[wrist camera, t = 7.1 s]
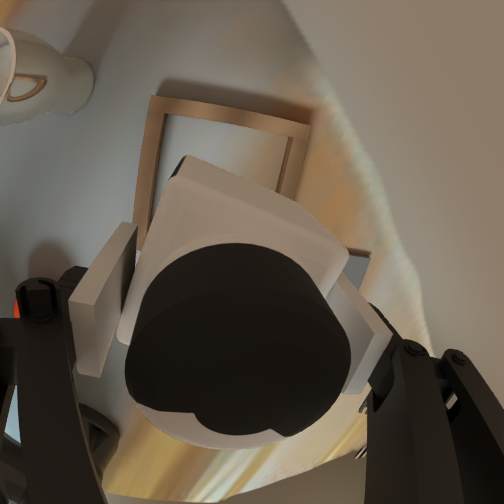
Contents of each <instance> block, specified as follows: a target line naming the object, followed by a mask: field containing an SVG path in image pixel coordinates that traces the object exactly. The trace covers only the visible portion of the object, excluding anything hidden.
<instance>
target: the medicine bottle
mask: <svg viewBox="0 0 504 504" xmlns="http://www.w3.org/2000/svg"><path fill="white" fill-rule="evenodd" d="M348 259H349V252H348V249H347V248H346V247H345V246H343V245H342V244H341V243H340V242H339V241H338V240H337V239H336V238H335V237H334V236H333V235H332V234H331V233H330V232H329V231H328V230H327V229H326V228H325V227H324V226H323V225H322V224H321V223H320V222H318V221H317V220H316V219H315V218H314V217H313V216H312V215H311V214H310V213H309V212H308V211H307V210H306V209H305V208H304V207H302V206H301V205H300V204H299V203H297V202H295V201H293V200H291V199H289V198H287V197H285V196H282V195H280V194H278V193H276V192H274V191H272V190H269V189H267V188H265V187H263V186H261V185H258V184H256V183H254V182H252V181H249V180H247V179H245V178H243V177H240V176H238V175H236V174H233V173H231V172H229V171H226V170H224V169H222V168H219V167H217V166H215V165H212V164H210V163H208V162H205V161H203V160H200V159H198V158H196V157H193V156H190V155H186V156H184V157H183V158H182V159H181V161H180V162H179V164H178V165H177V167H176V169H175V170H174V172H173V174H172V175H171V177H170V178H169V180H168V182H167V184H166V186H165V189H164V191H163V194H162V196H161V199H160V201H159V204H158V207H157V209H156V212H155V214H154V217H153V220H152V223H151V225H150V228H149V231H148V233H147V236H146V239H145V242H144V245H143V248H142V251H141V253H140V256H139V259H138V262H137V265H136V268H135V271H134V274H133V278H132V281H131V284H130V287H129V290H128V294H127V297H126V300H125V303H124V307H123V310H122V314H121V317H120V321H119V324H118V328H117V331H116V333H117V339H118V340H119V341H120V342H121V343H123V344H126V345H129V349H128V353H127V357H126V361H125V380H126V385H127V388H128V391H129V394H130V396H131V398H132V400H133V402H134V403H135V405H136V406H137V407H138V409H139V410H140V411H141V412H142V414H143V415H144V416H145V417H146V418H147V419H148V420H149V421H150V422H151V423H152V424H153V425H154V426H155V427H157V428H158V429H160V430H161V431H163V432H164V433H166V434H167V435H169V436H171V437H173V438H175V439H177V440H180V441H182V442H185V443H188V444H191V445H195V446H199V447H204V448H210V449H219V450H238V449H249V448H256V447H261V446H265V445H269V444H273V443H276V442H279V441H282V440H284V439H287V438H289V437H291V436H293V435H295V434H297V433H299V432H301V431H303V430H304V429H306V428H307V427H309V426H311V425H312V424H313V423H315V422H316V421H317V420H318V419H320V418H321V417H322V416H323V415H324V414H325V413H326V412H327V411H328V410H329V409H330V408H331V406H332V405H333V404H334V403H335V401H336V400H337V398H338V396H339V395H340V393H341V391H342V389H343V387H344V384H345V382H346V379H347V377H348V374H349V370H350V365H351V348H350V343H349V340H348V337H347V335H346V332H345V330H344V329H343V327H342V325H341V324H340V322H339V321H338V319H337V317H336V316H335V314H334V313H333V311H332V309H331V308H330V306H329V305H328V303H327V301H326V300H325V298H326V296H327V295H328V293H329V292H330V290H331V288H332V287H333V285H334V283H335V282H336V280H337V278H338V277H339V275H340V273H341V272H342V270H343V268H344V267H345V265H346V263H347V262H348Z"/></svg>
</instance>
